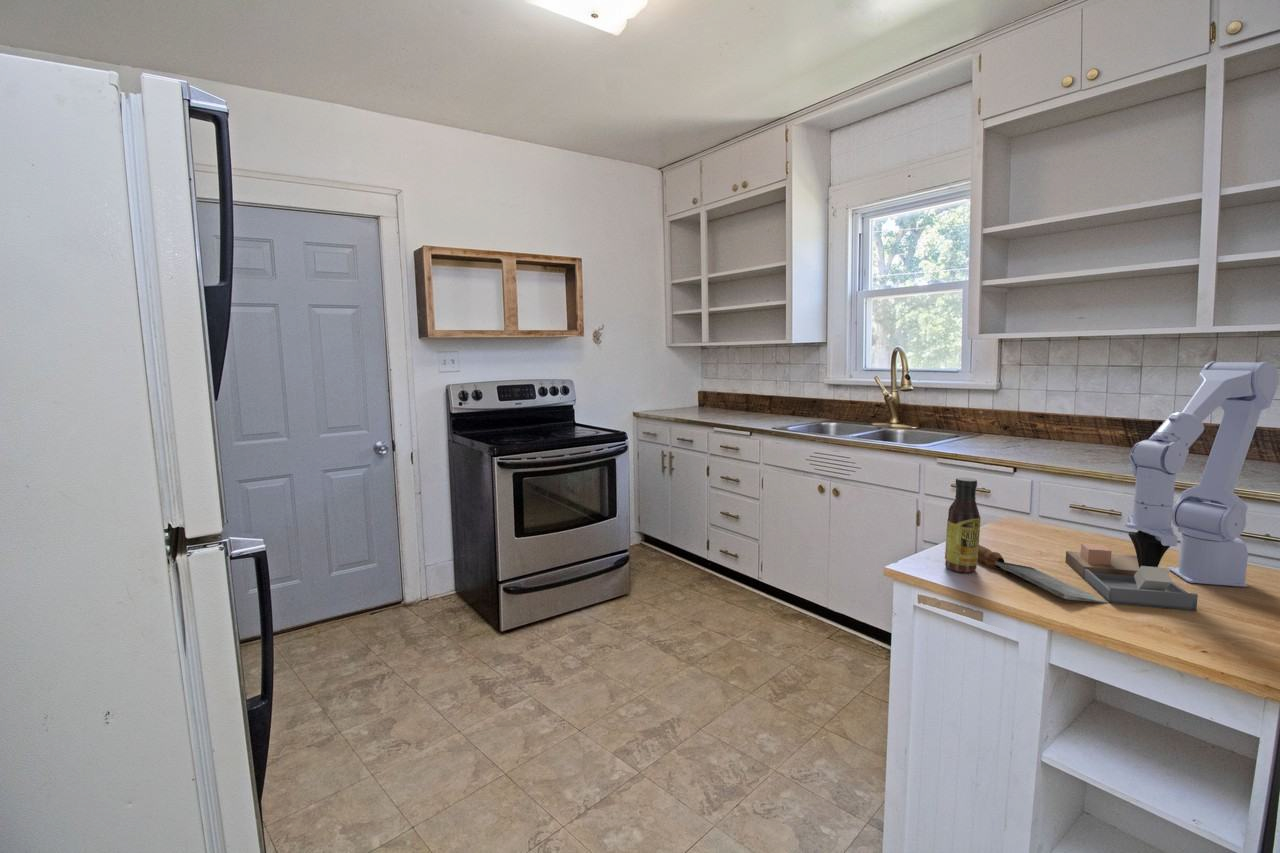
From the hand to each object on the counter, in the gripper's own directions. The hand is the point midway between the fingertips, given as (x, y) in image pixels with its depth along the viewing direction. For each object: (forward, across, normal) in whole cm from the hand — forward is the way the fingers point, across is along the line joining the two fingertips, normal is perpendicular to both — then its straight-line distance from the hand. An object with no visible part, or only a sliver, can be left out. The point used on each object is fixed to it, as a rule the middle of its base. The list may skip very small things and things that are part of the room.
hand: (1147, 570), depth 117 cm
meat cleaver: (+4, -4, -20) cm, 21 cm away
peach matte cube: (+1, -8, -6) cm, 10 cm away
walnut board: (+4, -8, -3) cm, 9 cm away
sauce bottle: (+4, -3, -32) cm, 32 cm away
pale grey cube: (0, +2, 0) cm, 2 cm away
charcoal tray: (+4, +4, -3) cm, 6 cm away
